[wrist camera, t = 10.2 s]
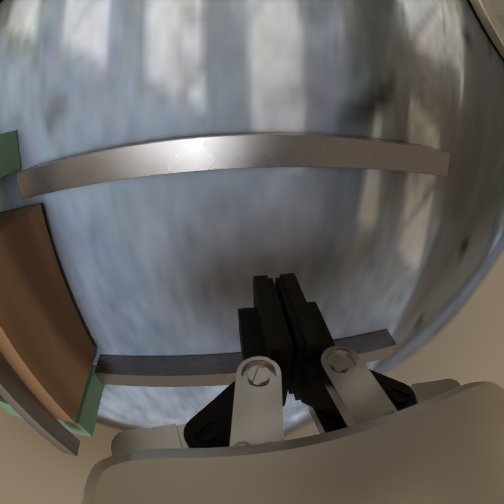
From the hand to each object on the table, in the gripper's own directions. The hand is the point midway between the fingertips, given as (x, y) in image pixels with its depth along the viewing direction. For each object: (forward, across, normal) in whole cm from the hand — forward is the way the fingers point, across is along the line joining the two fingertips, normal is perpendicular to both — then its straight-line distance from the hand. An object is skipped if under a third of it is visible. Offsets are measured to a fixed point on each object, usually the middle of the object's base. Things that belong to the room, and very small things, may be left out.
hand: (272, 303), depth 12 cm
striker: (+2, +13, 0) cm, 13 cm away
